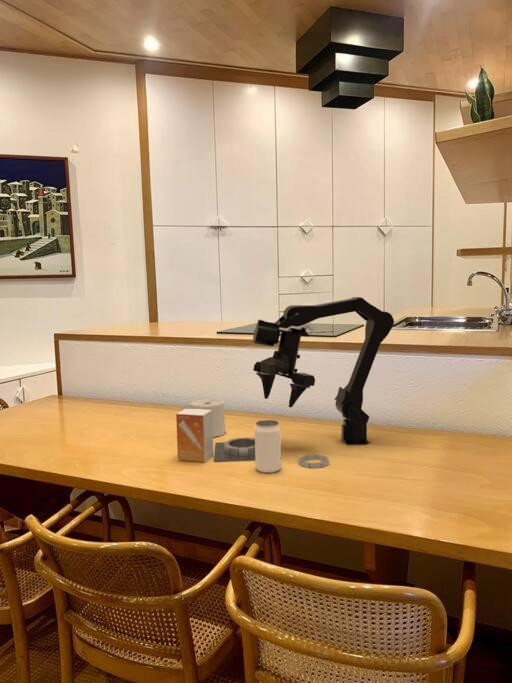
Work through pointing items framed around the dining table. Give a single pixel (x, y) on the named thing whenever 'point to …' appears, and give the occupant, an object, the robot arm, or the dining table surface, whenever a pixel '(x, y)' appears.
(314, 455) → the ring
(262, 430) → the can
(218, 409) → the toilet tissue
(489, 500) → the dining table surface
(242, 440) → the ring seat
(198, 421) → the small box
